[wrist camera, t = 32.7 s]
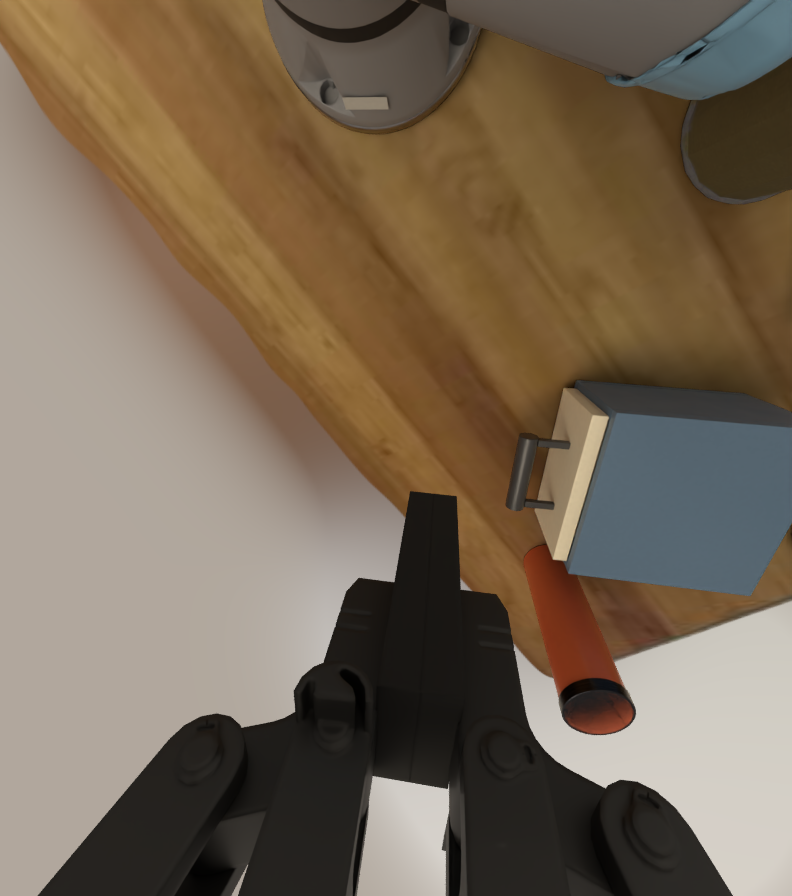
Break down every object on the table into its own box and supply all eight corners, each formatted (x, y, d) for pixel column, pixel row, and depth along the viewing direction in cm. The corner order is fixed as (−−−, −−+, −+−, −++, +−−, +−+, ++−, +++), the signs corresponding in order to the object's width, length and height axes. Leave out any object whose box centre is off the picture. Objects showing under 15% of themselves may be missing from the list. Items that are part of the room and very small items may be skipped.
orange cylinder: (526, 582, 46) (566, 737, 31) (518, 547, 44) (557, 693, 29) (572, 576, 45) (638, 733, 29) (566, 540, 43) (633, 687, 28)
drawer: (494, 506, 41) (504, 553, 34) (516, 383, 36) (534, 410, 29) (668, 525, 40) (716, 579, 33) (720, 400, 34) (791, 432, 27)
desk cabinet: (542, 512, 42) (568, 573, 33) (575, 379, 36) (616, 412, 27) (685, 527, 41) (750, 596, 32) (744, 393, 35) (843, 432, 26)
